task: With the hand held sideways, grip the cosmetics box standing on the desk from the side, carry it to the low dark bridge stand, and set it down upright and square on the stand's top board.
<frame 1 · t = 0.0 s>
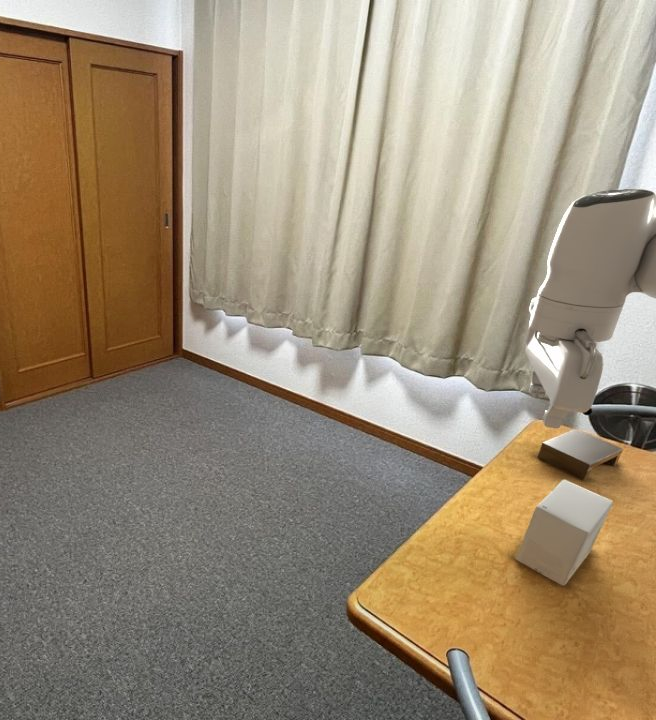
hand: (542, 409, 69), 22 cm above the table, tool pointing down, fingers open, 8 cm apart
cosmetics box: (552, 559, 71), on the table
dark bridge stand: (575, 463, 92), on the table
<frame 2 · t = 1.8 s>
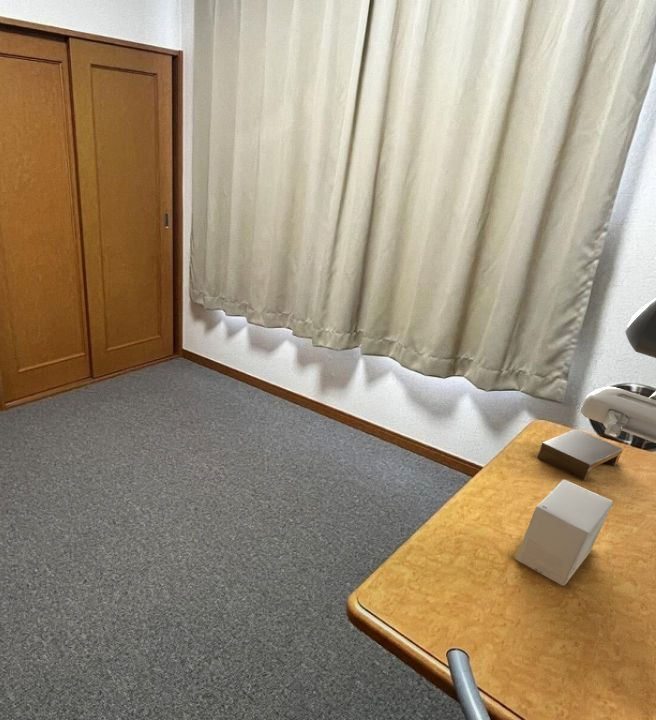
hand: (653, 447, 66), 18 cm above the table, tool horizontal, fingers open, 8 cm apart
nothing on the table moved.
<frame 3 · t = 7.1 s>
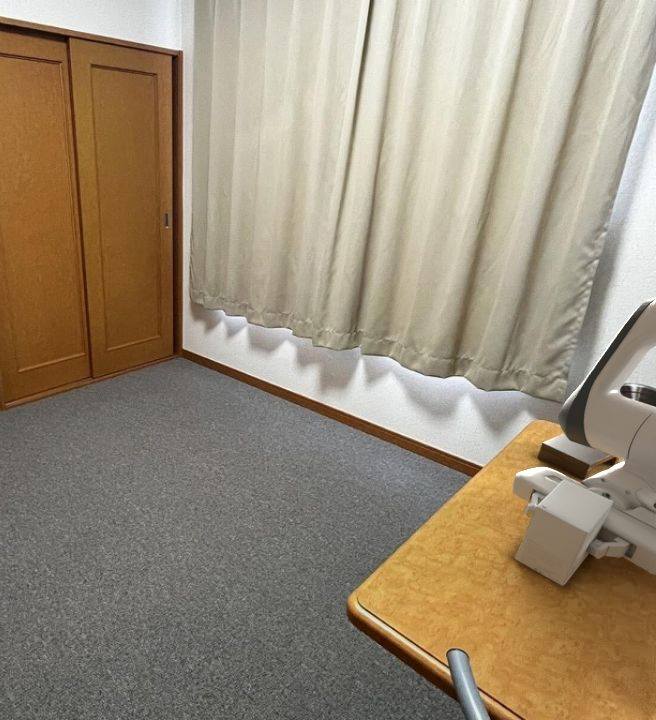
hand: (559, 531, 68), 6 cm above the table, tool horizontal, fingers closed on cosmetics box, 7 cm apart
cosmetics box: (552, 559, 71), on the table, touching gripper
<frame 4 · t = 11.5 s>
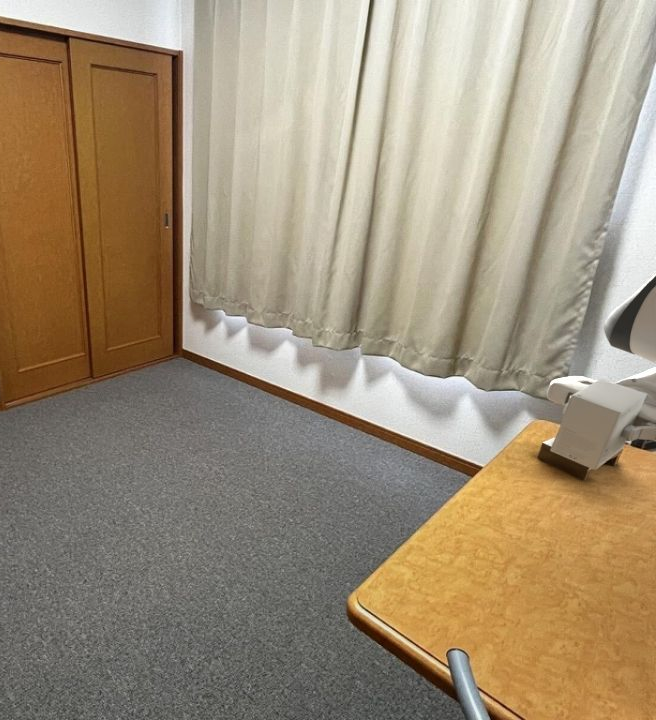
hand: (596, 422, 74), 17 cm above the table, tool horizontal, fingers closed on cosmetics box, 6 cm apart
cosmetics box: (586, 451, 77), point 11 cm above the table, touching gripper
when the fingers open (10 cm above the table, at t = 16.2 s): cosmetics box stays where it is, resting on dark bridge stand.
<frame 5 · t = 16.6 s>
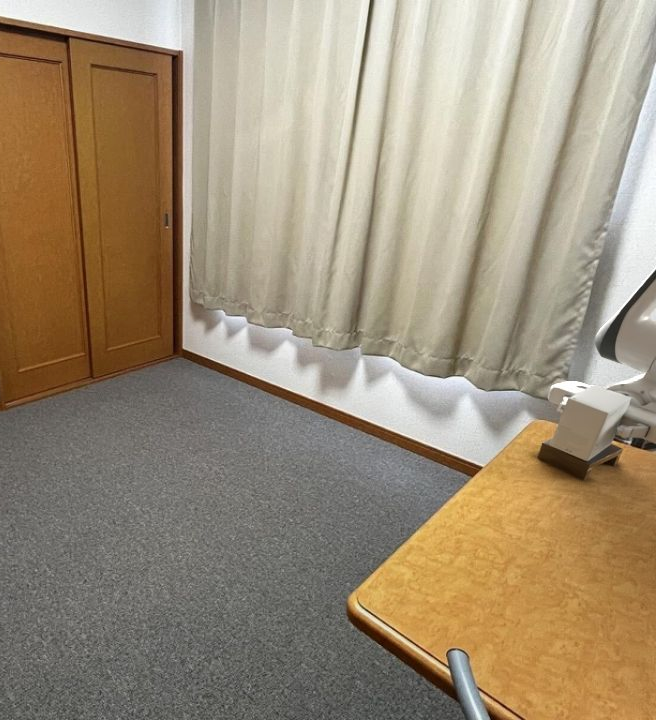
hand: (589, 420, 87), 10 cm above the table, tool horizontal, fingers open, 8 cm apart
cosmetics box: (580, 446, 90), point 4 cm above the table, touching dark bridge stand
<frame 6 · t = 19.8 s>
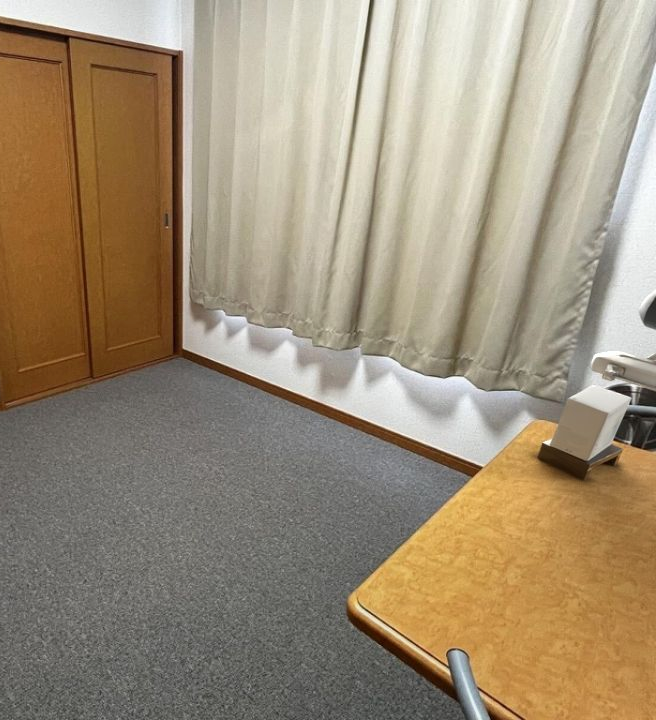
hand: (636, 385, 91), 14 cm above the table, tool horizontal, fingers open, 8 cm apart
nothing on the table moved.
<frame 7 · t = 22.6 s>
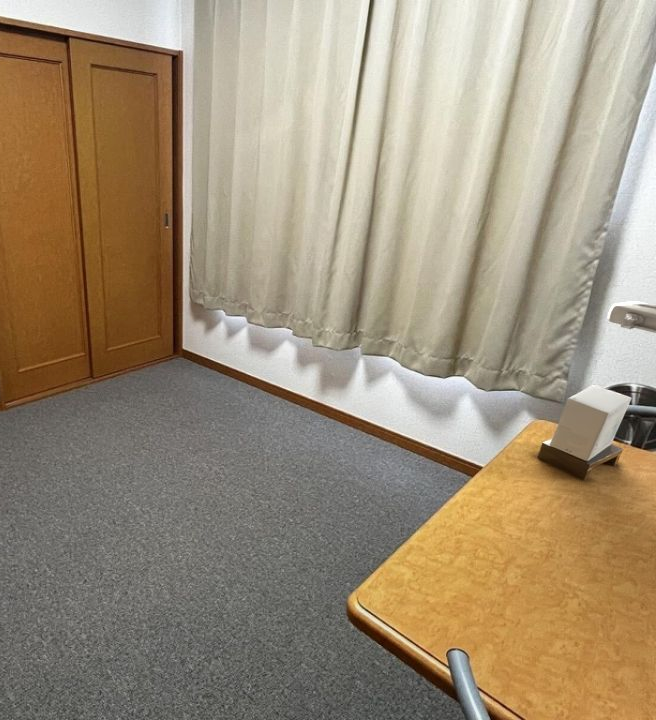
nothing on the table moved.
at the end: cosmetics box 0.2 cm off-centre on the dark bridge stand, point 3.8 cm above the dark bridge stand's base; cosmetics box tilted 0°; the gripper is holding nothing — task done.
